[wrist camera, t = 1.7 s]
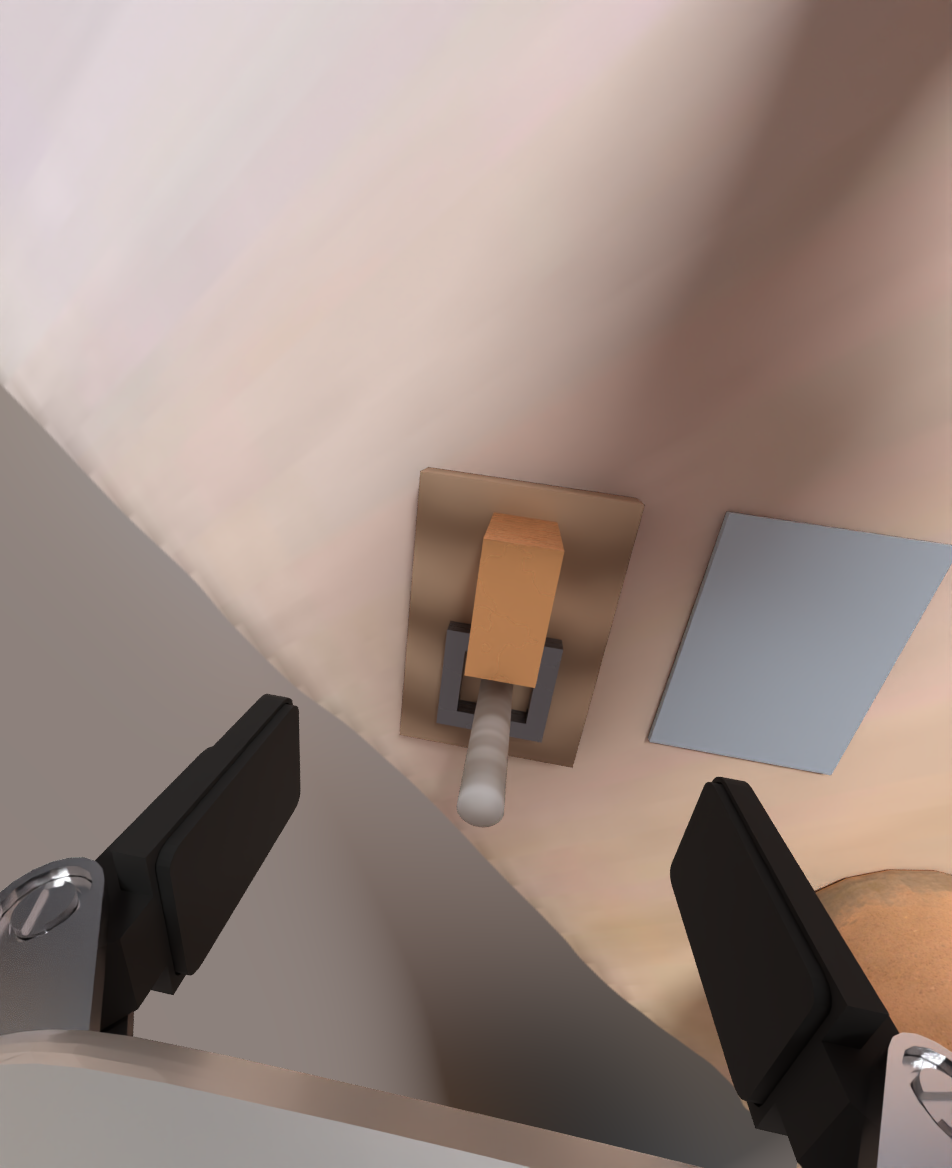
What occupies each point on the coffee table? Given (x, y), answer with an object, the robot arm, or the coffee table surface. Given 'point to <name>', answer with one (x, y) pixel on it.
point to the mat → (793, 639)
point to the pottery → (901, 943)
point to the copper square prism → (508, 624)
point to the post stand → (447, 593)
